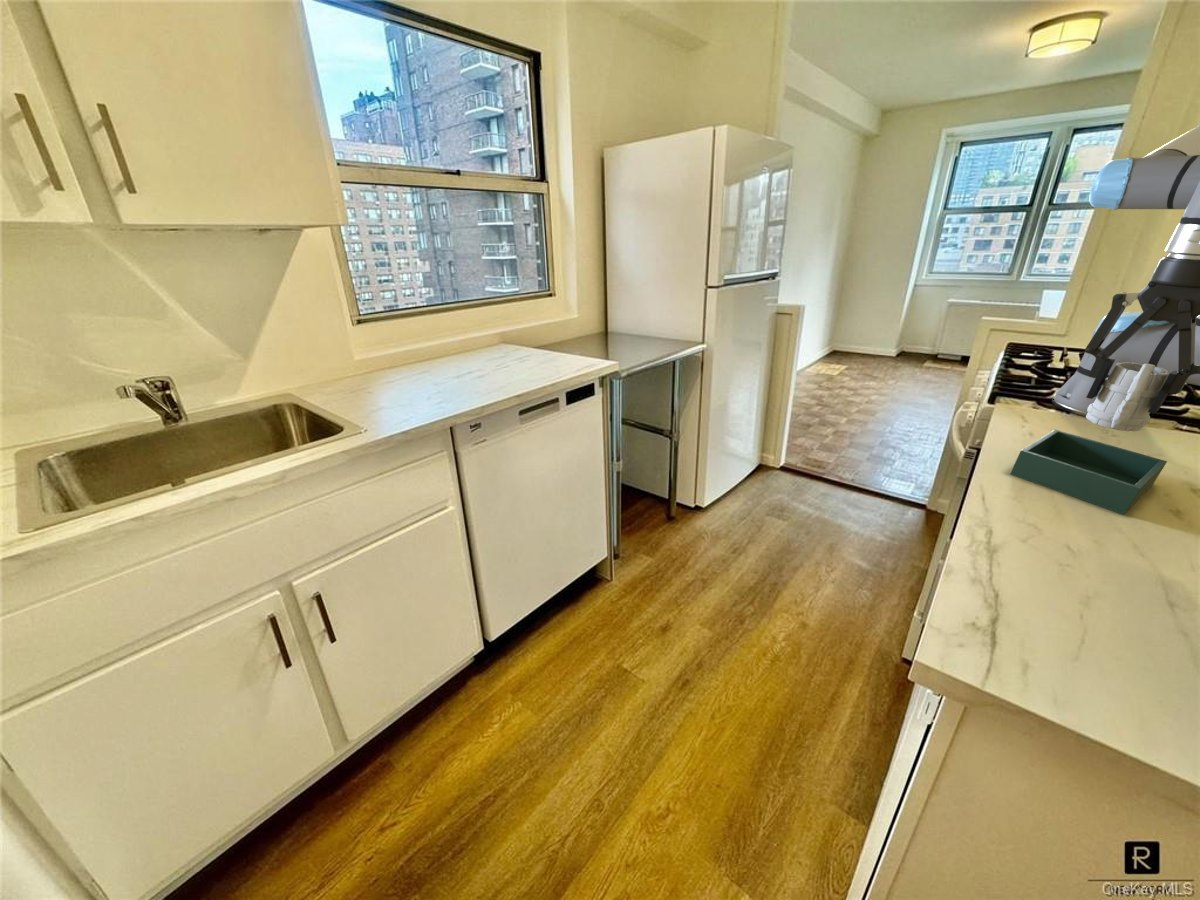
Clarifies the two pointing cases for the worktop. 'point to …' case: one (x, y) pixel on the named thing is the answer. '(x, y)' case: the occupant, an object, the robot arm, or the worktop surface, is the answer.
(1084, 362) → the robot arm
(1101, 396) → the mug
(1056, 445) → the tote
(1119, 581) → the worktop surface
